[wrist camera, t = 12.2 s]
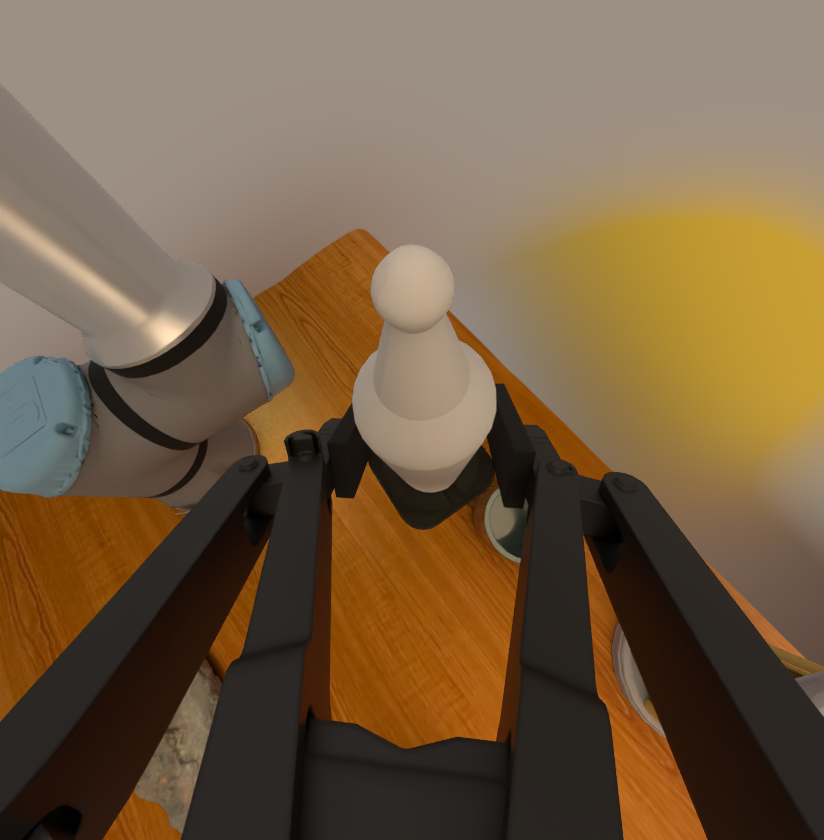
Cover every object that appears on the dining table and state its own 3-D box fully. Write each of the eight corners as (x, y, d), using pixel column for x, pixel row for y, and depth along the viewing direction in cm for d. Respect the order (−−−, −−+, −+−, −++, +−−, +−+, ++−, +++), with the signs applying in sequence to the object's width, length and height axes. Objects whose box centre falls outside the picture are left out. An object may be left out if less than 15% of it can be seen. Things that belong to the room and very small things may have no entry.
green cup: (461, 503, 42) (469, 502, 32) (513, 475, 42) (536, 466, 33) (493, 562, 39) (512, 580, 30) (547, 532, 40) (583, 540, 30)
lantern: (597, 602, 37) (892, 775, 13) (714, 592, 37) (1241, 753, 13) (632, 745, 33) (1139, 1357, 9) (764, 736, 33) (1662, 1363, 9)
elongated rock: (263, 1009, 31) (347, 930, 32) (234, 1110, 26) (335, 1011, 27) (137, 674, 38) (210, 623, 40) (95, 701, 33) (180, 642, 35)
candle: (424, 525, 26) (286, 762, 2) (392, 475, 27) (69, 223, 3) (472, 491, 26) (884, 305, 2) (438, 444, 28) (467, 18, 4)
